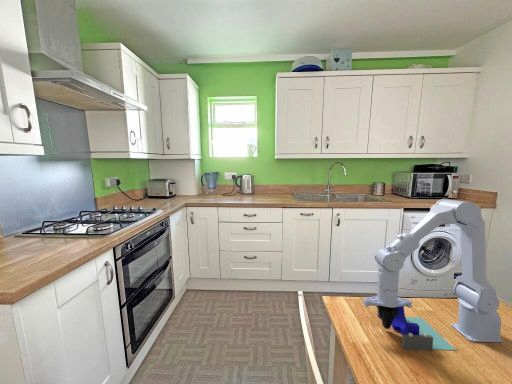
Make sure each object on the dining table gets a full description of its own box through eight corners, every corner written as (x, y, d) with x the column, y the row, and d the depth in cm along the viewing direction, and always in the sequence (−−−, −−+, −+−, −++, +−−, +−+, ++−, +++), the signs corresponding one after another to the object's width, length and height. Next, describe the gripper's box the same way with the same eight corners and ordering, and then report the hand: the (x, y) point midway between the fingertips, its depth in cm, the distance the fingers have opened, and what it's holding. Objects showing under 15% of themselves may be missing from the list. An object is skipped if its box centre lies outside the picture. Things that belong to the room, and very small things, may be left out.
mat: (421, 317, 80) (421, 317, 80) (456, 350, 65) (456, 349, 65) (398, 317, 81) (398, 316, 81) (427, 349, 66) (427, 348, 66)
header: (400, 316, 81) (400, 304, 81) (432, 350, 65) (433, 335, 65) (377, 315, 82) (377, 303, 81) (403, 349, 66) (404, 334, 65)
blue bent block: (387, 318, 80) (387, 302, 79) (401, 320, 79) (401, 303, 78) (402, 343, 68) (402, 325, 68) (418, 345, 67) (419, 326, 67)
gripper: (403, 281, 76) (401, 319, 77) (359, 280, 77) (358, 318, 78) (416, 292, 69) (415, 334, 70) (368, 291, 70) (367, 332, 71)
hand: (386, 326), depth 74 cm, fingers closed
